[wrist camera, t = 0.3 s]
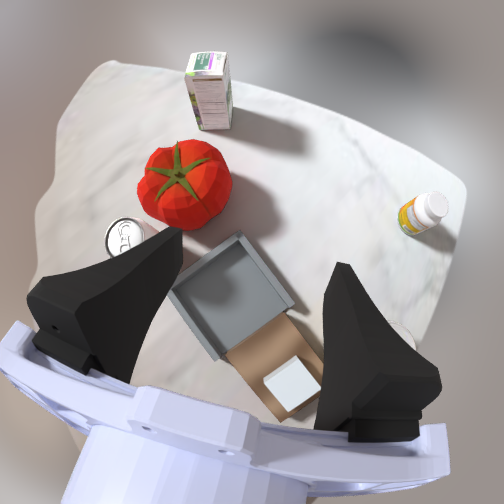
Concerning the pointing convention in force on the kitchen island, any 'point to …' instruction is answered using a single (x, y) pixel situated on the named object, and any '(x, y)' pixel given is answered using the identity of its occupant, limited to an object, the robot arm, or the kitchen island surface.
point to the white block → (291, 383)
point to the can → (126, 235)
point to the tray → (228, 295)
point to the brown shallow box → (274, 360)
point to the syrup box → (210, 89)
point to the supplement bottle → (422, 213)
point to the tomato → (185, 184)
